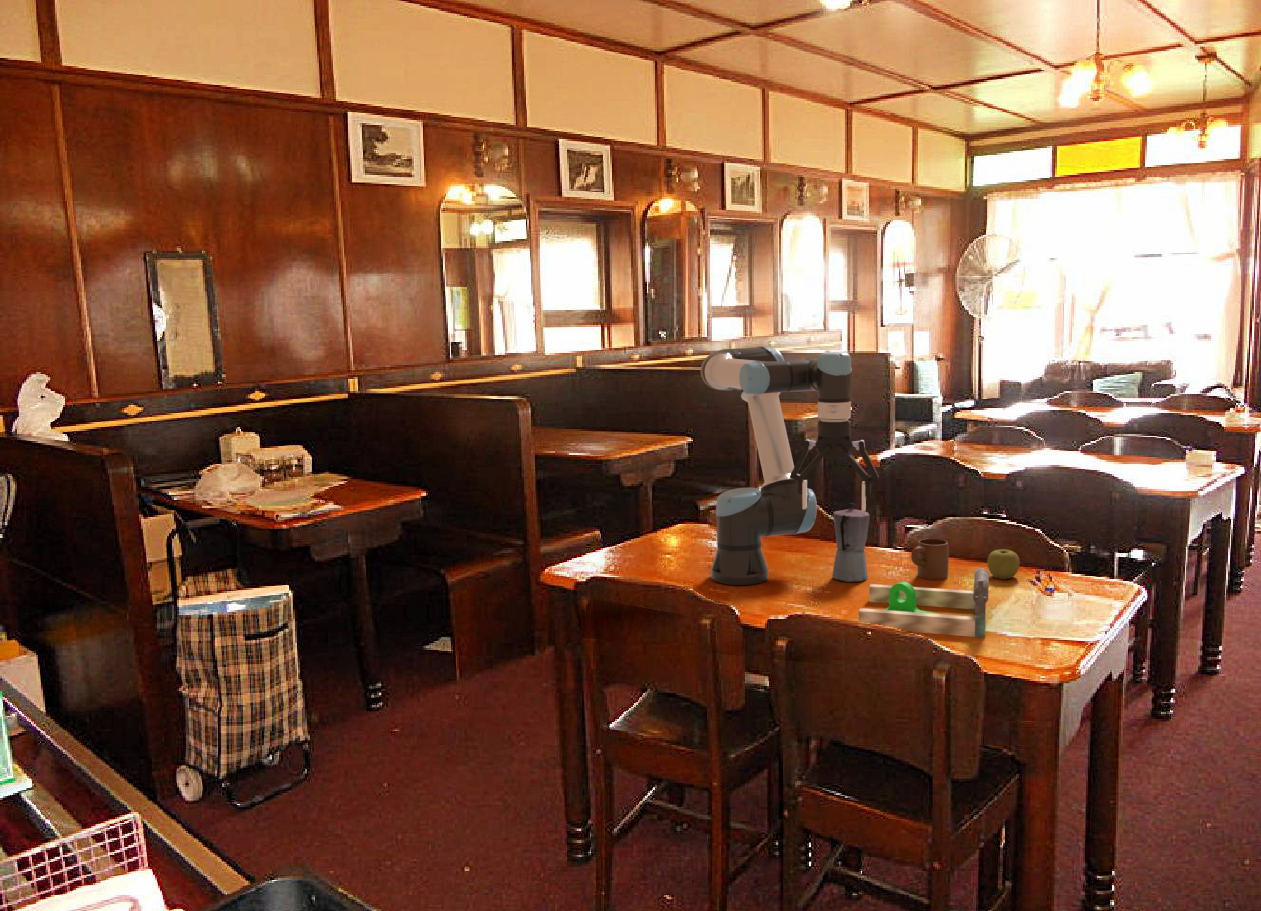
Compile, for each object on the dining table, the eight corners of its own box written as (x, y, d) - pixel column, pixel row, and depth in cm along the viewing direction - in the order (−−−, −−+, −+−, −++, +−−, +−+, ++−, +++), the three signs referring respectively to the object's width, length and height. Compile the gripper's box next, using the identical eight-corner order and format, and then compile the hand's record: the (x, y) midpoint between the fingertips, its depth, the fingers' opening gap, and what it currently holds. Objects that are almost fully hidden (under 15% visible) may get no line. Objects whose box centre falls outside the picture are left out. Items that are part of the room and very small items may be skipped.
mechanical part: (880, 620, 211) (881, 585, 210) (893, 613, 215) (893, 579, 214) (931, 630, 203) (931, 595, 202) (943, 623, 207) (943, 588, 206)
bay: (857, 630, 204) (857, 573, 202) (870, 599, 225) (870, 547, 223) (987, 641, 195) (988, 581, 193) (987, 608, 215) (989, 554, 213)
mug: (924, 586, 234) (925, 549, 233) (900, 579, 240) (900, 544, 239) (954, 577, 241) (954, 541, 239) (929, 571, 247) (930, 536, 246)
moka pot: (874, 572, 247) (874, 499, 244) (863, 589, 234) (863, 511, 231) (838, 569, 251) (838, 497, 248) (825, 585, 238) (824, 509, 235)
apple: (982, 579, 238) (982, 552, 237) (994, 572, 244) (995, 545, 243) (1012, 584, 233) (1012, 556, 232) (1024, 577, 239) (1024, 550, 238)
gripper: (777, 421, 216) (778, 510, 220) (889, 422, 209) (888, 514, 212) (782, 417, 223) (783, 503, 227) (890, 417, 216) (889, 507, 219)
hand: (833, 509), depth 219 cm, fingers open, 13 cm apart
